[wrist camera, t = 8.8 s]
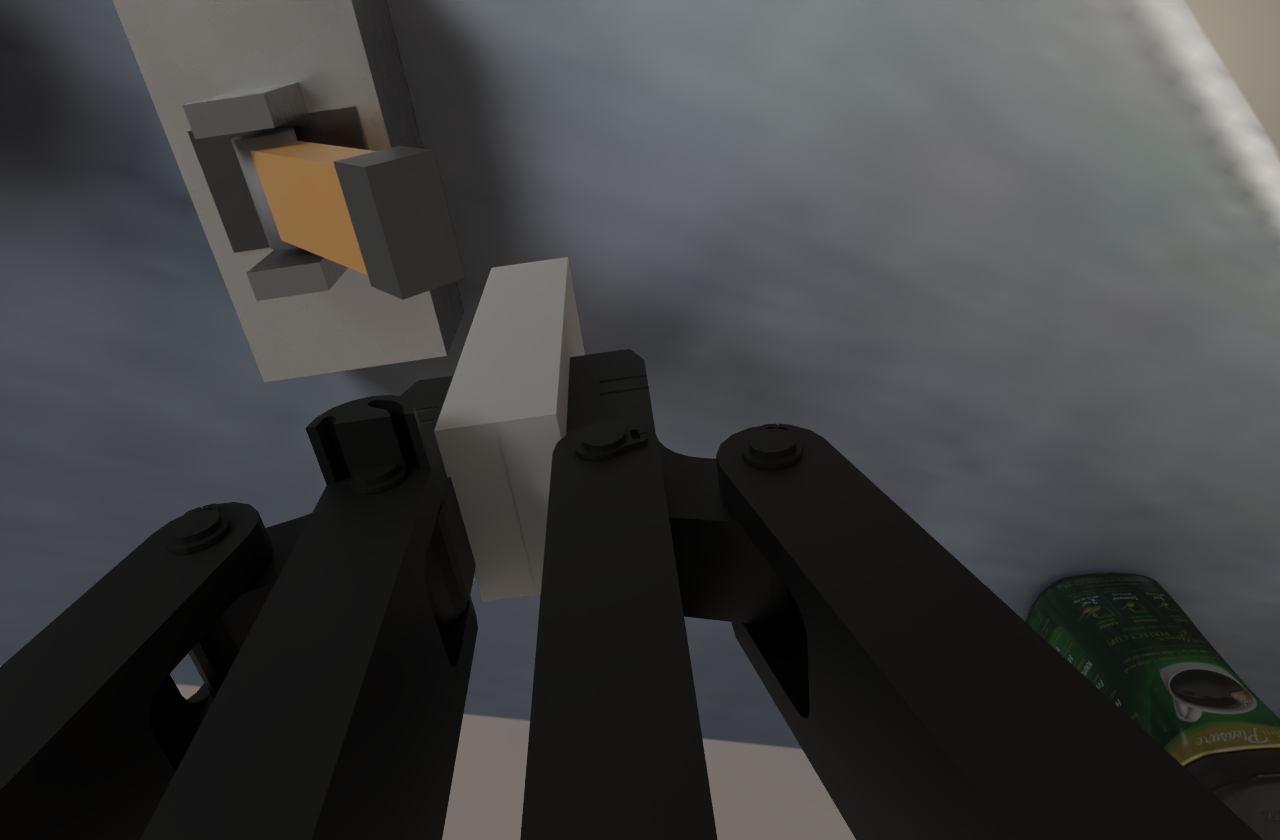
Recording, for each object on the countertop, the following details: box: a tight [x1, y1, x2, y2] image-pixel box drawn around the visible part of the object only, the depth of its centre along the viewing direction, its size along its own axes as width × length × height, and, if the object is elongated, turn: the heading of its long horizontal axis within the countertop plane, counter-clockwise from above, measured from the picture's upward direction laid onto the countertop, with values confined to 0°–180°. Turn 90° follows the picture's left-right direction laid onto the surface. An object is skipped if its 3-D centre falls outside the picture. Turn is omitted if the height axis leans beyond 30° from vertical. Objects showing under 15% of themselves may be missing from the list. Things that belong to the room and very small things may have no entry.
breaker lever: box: [231, 128, 465, 300], centre depth 29 cm, size 2×4×14 cm
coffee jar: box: [1026, 573, 1280, 840], centre depth 49 cm, size 10×8×19 cm
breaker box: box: [113, 0, 464, 382], centre depth 35 cm, size 9×18×10 cm, turn 7°
